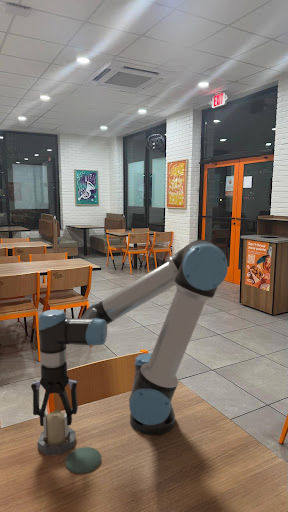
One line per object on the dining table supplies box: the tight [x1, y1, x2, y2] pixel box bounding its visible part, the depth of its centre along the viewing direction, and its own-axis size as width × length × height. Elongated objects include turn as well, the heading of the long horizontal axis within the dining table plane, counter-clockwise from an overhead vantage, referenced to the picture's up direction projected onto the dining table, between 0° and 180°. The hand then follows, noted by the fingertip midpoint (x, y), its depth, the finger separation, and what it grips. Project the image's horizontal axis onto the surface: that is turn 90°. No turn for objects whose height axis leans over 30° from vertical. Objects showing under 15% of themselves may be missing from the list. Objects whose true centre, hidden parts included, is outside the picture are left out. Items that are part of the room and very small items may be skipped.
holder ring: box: [37, 426, 77, 456], centre depth 109 cm, size 11×11×2 cm
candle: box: [47, 409, 67, 445], centre depth 109 cm, size 6×6×10 cm
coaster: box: [65, 446, 102, 475], centre depth 102 cm, size 10×10×1 cm
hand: (56, 434), depth 109 cm, fingers closed on candle, 5 cm apart
